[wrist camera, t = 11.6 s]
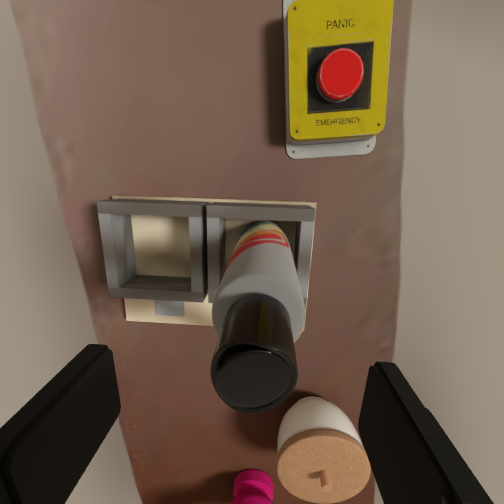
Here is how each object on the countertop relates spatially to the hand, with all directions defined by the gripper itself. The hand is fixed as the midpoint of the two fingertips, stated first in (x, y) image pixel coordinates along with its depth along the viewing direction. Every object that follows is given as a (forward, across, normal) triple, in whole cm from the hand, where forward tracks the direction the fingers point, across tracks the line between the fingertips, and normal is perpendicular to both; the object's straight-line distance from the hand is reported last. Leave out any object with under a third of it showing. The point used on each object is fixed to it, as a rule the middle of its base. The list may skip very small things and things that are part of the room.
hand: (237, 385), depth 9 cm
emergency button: (+23, -7, -17) cm, 29 cm away
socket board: (+22, +5, +4) cm, 23 cm away
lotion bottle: (+21, -1, 0) cm, 21 cm away
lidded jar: (+22, -9, +26) cm, 35 cm away
